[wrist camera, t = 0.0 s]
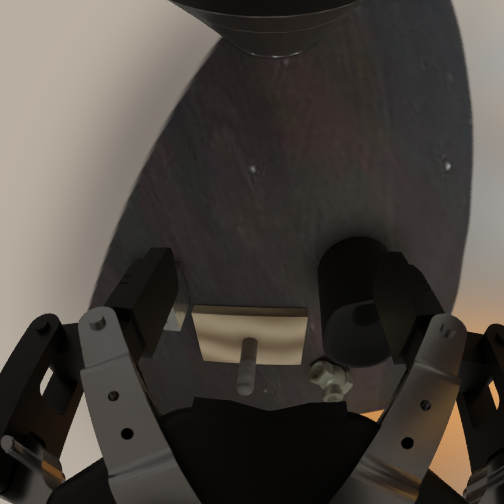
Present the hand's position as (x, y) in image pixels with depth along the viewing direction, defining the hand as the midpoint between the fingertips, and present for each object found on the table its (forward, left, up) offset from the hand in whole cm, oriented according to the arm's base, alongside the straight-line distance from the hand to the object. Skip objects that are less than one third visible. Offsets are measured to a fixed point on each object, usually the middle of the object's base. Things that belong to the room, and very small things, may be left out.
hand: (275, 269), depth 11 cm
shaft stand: (+24, -3, -17) cm, 29 cm away
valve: (+32, +9, -17) cm, 37 cm away
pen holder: (+13, +9, -17) cm, 23 cm away
